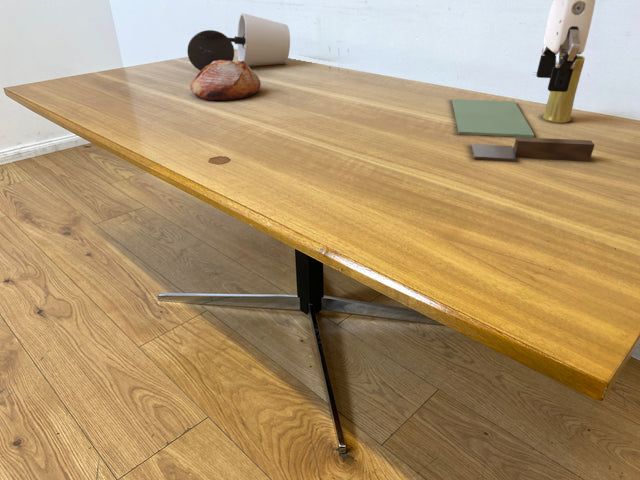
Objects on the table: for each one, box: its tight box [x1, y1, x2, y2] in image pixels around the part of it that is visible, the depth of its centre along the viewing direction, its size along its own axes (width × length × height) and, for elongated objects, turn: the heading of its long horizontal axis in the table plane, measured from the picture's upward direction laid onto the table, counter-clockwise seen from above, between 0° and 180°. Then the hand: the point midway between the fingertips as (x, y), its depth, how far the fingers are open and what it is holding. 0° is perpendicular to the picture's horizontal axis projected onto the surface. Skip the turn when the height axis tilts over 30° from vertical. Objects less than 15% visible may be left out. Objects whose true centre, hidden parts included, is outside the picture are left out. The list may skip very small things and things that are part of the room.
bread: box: [189, 60, 262, 102], centre depth 136 cm, size 16×20×10 cm
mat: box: [451, 98, 536, 138], centre depth 117 cm, size 16×26×1 cm, turn 170°
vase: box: [542, 54, 586, 124], centre depth 112 cm, size 6×6×14 cm
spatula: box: [470, 137, 595, 163], centre depth 96 cm, size 22×7×3 cm, turn 80°
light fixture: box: [186, 12, 291, 72], centre depth 163 cm, size 17×19×34 cm
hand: (550, 83), depth 89 cm, fingers open, 9 cm apart
